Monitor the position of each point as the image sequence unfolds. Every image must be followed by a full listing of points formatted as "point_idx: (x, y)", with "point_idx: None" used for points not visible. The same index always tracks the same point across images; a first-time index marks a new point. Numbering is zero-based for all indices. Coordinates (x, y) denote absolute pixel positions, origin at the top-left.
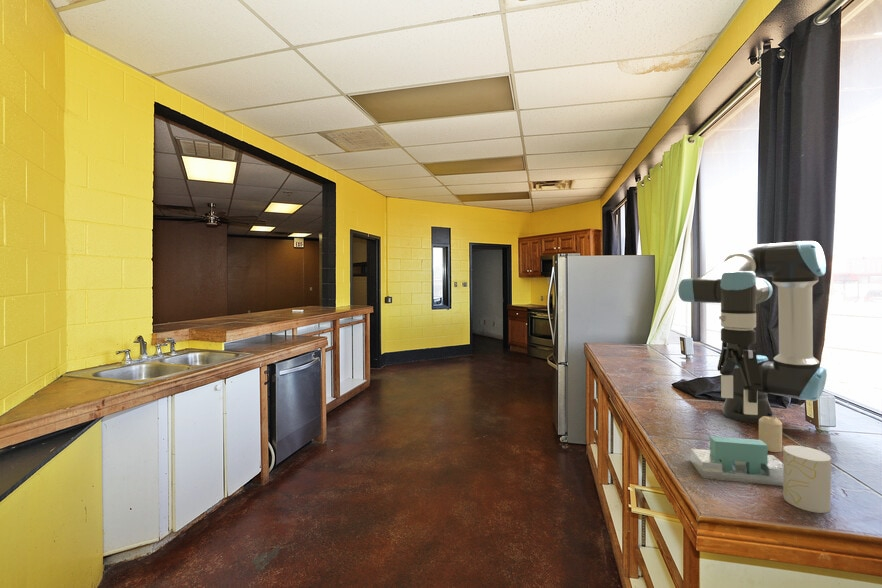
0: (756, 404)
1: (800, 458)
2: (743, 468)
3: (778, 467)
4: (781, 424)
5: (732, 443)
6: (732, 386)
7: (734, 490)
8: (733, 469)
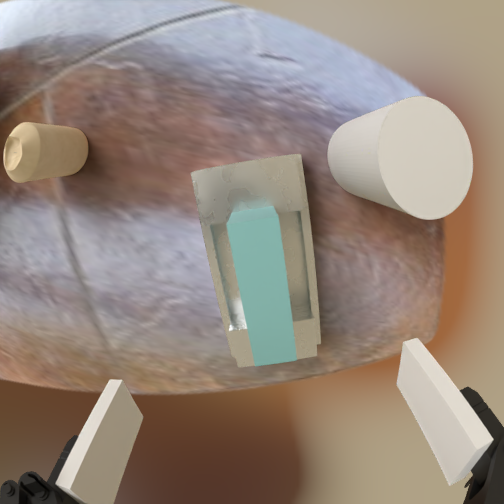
0: (443, 377)
1: (463, 195)
2: None
3: (288, 183)
4: (33, 124)
5: (291, 318)
6: (97, 433)
7: (357, 286)
8: None
